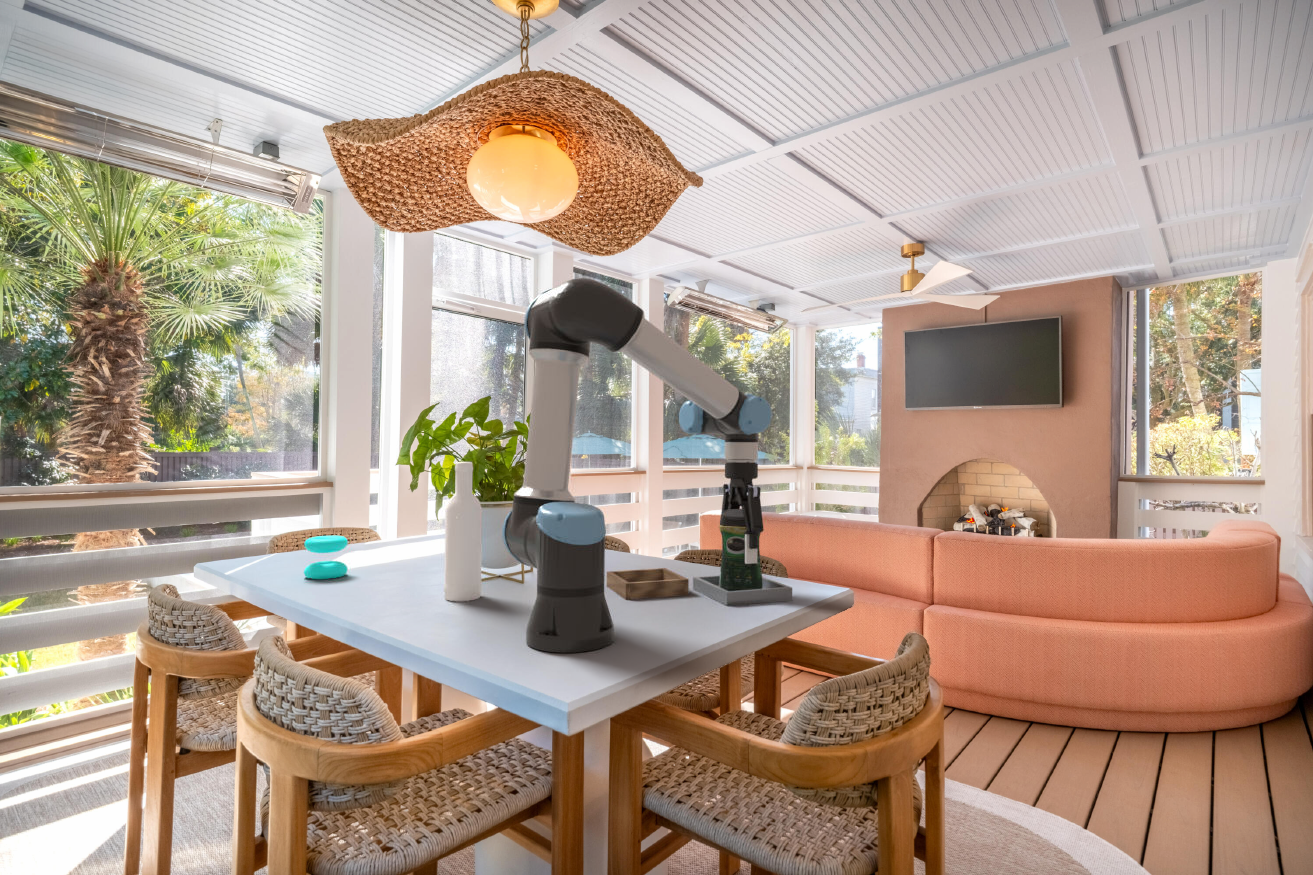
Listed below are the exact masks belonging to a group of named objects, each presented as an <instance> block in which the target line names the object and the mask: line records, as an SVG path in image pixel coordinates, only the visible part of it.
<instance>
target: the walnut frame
mask: <svg viewBox="0 0 1313 875" xmlns="http://www.w3.org/2000/svg"><path fill="white" fill-rule="evenodd" d="M689 584H690V582H689V578H687V577H684V576H683V575H680V574H678V573H676V572H675V571H672V570H670V569H668V568H665V567H662V568H660V567H659V568H648V569H647V568H646V569H645V568H644V569H643V568H641V569H629V570H628V569H626V570H612V571H611V570H610V571H606V587H608V589H610V590H611V591H613V592H614V593H615V594H617V595H619V596H620V597H621V598H623V599H624V600H638V599H650V598H661V597H662V598H664V597H666V598H667V597H675V596H676V597H677V596H688V595H689Z"/></svg>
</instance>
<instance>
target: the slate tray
mask: <svg viewBox="0 0 1313 875" xmlns="http://www.w3.org/2000/svg"><path fill="white" fill-rule="evenodd" d="M762 584H763V587H762V589H753V590H740V591H727V590H725V589H723V588H721V587H720V574H717V575H703V576H693V577H692V589H693V590H694V591H695V592H696V591H697V592H698V593H700V594H702V595H704V596H706V597H708V598H711V599H712V600H713V601H716V602H718V603H720V604H721V605H722V604H723V605H724V606H726V607H728V606H729V607H730V606H741V605H754V604H763V603H764V604H765V603H774V602H775V603H777V602H788V601H789V602H791V601H793V587H792V586H789V585H786V584H784V583H782V582H778V581H776V580H774V579H770V578H767V577H764V576H762Z"/></svg>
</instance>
